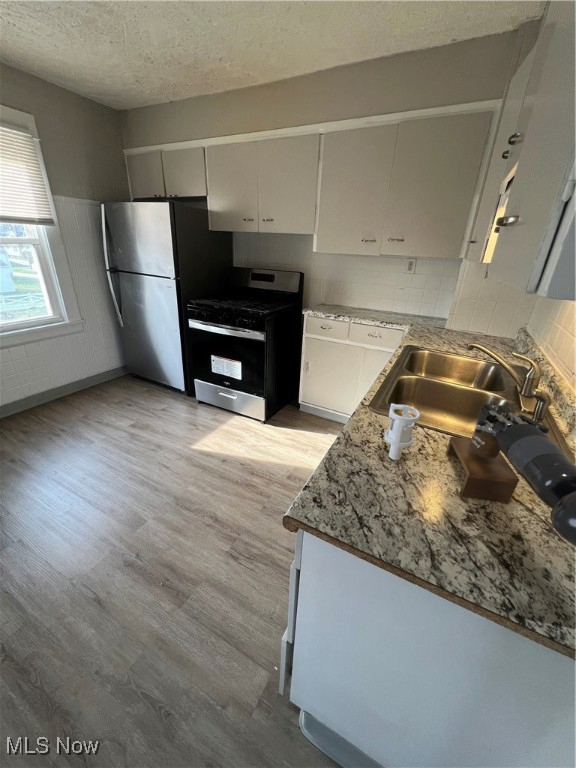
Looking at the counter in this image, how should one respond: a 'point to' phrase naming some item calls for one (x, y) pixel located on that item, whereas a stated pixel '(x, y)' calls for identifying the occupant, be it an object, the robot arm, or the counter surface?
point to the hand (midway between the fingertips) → (491, 408)
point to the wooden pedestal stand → (483, 473)
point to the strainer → (400, 430)
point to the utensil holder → (485, 443)
